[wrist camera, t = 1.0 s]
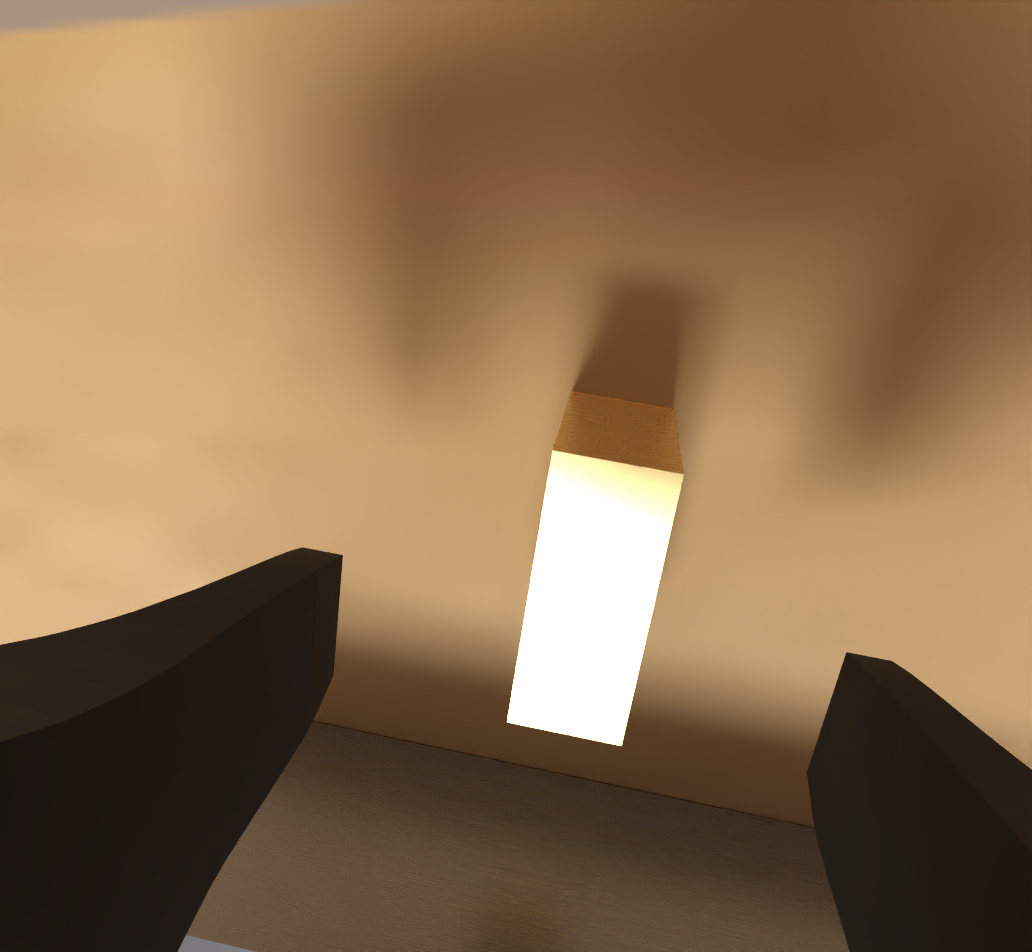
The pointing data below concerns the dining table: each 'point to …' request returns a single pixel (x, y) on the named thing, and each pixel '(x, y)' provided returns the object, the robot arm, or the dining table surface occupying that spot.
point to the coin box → (503, 863)
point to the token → (596, 566)
